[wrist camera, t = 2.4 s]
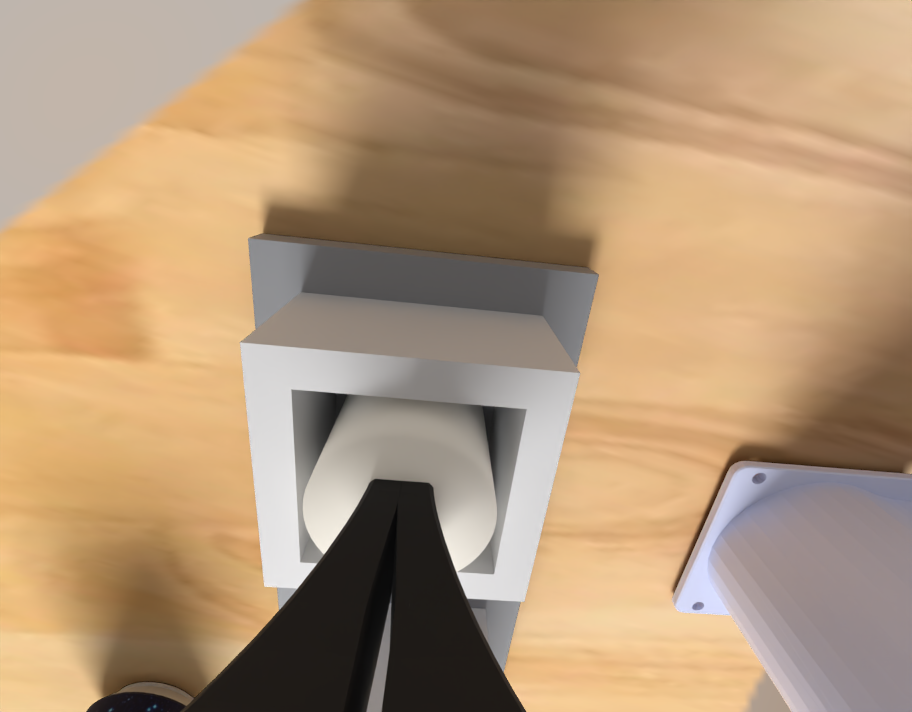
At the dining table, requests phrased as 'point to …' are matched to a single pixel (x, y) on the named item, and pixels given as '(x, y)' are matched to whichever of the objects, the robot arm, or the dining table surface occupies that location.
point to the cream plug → (407, 467)
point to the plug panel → (411, 388)
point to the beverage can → (144, 699)
